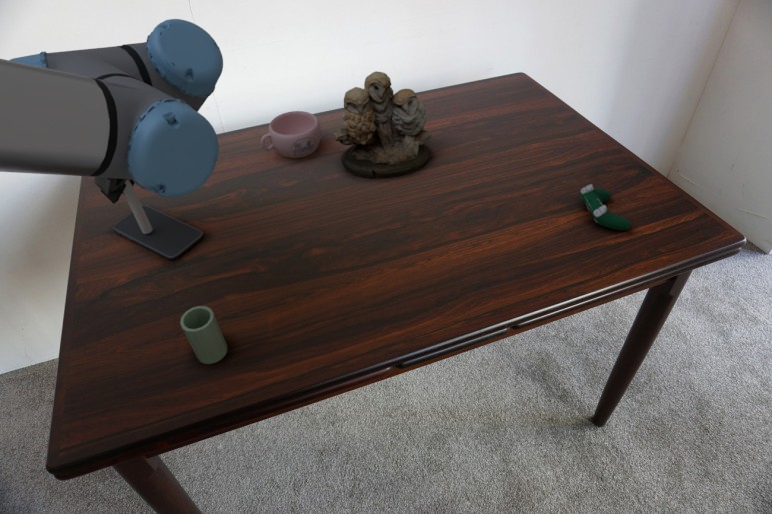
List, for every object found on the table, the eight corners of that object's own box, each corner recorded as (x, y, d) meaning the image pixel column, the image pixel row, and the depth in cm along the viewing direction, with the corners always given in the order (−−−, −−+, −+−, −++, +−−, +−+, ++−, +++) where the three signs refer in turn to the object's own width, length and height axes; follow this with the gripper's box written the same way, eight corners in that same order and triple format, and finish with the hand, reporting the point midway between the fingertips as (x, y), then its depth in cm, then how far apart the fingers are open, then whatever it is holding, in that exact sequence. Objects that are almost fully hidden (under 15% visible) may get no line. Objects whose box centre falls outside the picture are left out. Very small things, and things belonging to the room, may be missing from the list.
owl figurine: (342, 186, 94) (332, 98, 82) (332, 151, 102) (321, 67, 90) (438, 170, 97) (441, 82, 85) (421, 137, 105) (421, 53, 93)
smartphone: (171, 259, 81) (108, 227, 87) (173, 263, 82) (111, 231, 87) (206, 231, 85) (144, 202, 91) (207, 236, 86) (146, 207, 92)
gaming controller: (591, 206, 90) (572, 189, 87) (610, 192, 88) (591, 174, 85) (613, 242, 84) (593, 224, 81) (634, 227, 82) (614, 209, 79)
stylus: (144, 237, 85) (109, 165, 75) (142, 232, 86) (107, 160, 76) (154, 233, 85) (120, 162, 75) (152, 228, 86) (118, 156, 76)
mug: (312, 131, 108) (308, 105, 104) (331, 154, 102) (327, 127, 97) (257, 147, 104) (250, 121, 100) (272, 172, 98) (266, 145, 94)
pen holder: (202, 369, 67) (185, 336, 62) (193, 347, 70) (176, 314, 65) (231, 355, 69) (217, 322, 64) (221, 334, 71) (207, 301, 66)
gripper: (130, 174, 61) (95, 237, 78) (215, 116, 70) (166, 184, 87) (79, 124, 59) (55, 200, 77) (173, 71, 68) (132, 150, 86)
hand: (114, 192), depth 82 cm, fingers closed on stylus, 1 cm apart
